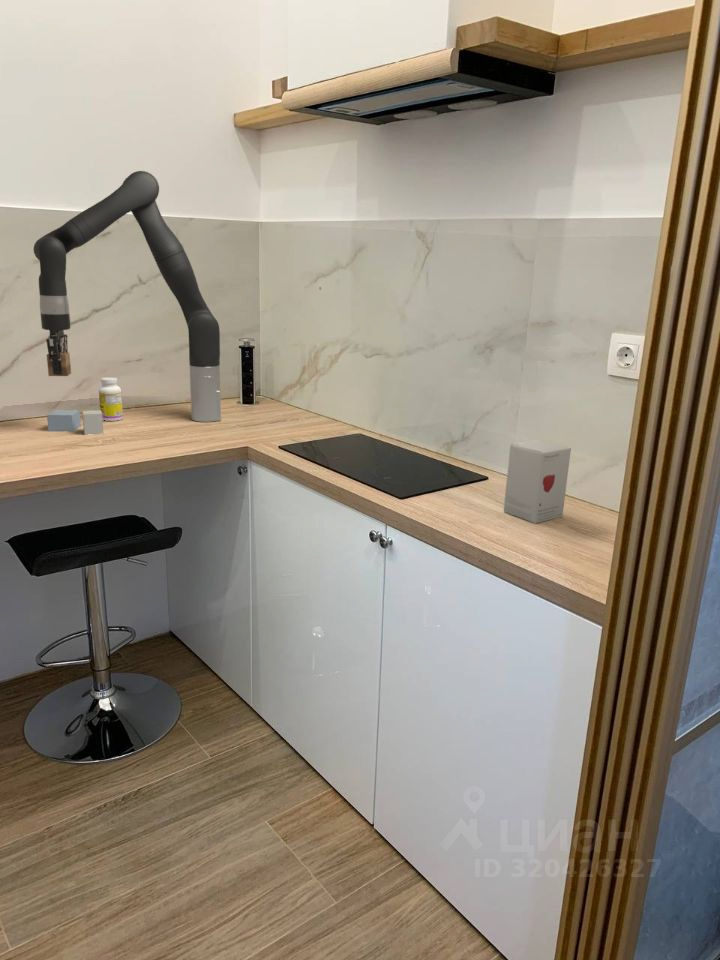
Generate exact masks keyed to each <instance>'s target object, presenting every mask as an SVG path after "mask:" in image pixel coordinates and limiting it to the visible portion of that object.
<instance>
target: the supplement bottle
mask: <svg viewBox="0 0 720 960" xmlns="http://www.w3.org/2000/svg"><path fill="white" fill-rule="evenodd" d="M100 382H101V386H100V387H99V388H98V397H99V399H98V400H99V410H101V412H102V420H103V421H104V420H105V421H104V422H117V420H118V421H121V420H123V419H124V413H123V396H122V395H123V394H122V388H121V387H120V386H119V385H118V378H116V377H102V378H101V379H100Z"/></svg>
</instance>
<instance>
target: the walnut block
mask: <svg viewBox="0 0 720 960" xmlns="http://www.w3.org/2000/svg"><path fill="white" fill-rule="evenodd" d="M54 355H56V353H54ZM46 362H47V374H48V377H68V376H69V375H71V374H72V368H71V366H72V365H71V355H70V352H68V353H61V367H62V374H54V373H53V364H52V361H51V359H49V354H48V353H47V354H46Z"/></svg>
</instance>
